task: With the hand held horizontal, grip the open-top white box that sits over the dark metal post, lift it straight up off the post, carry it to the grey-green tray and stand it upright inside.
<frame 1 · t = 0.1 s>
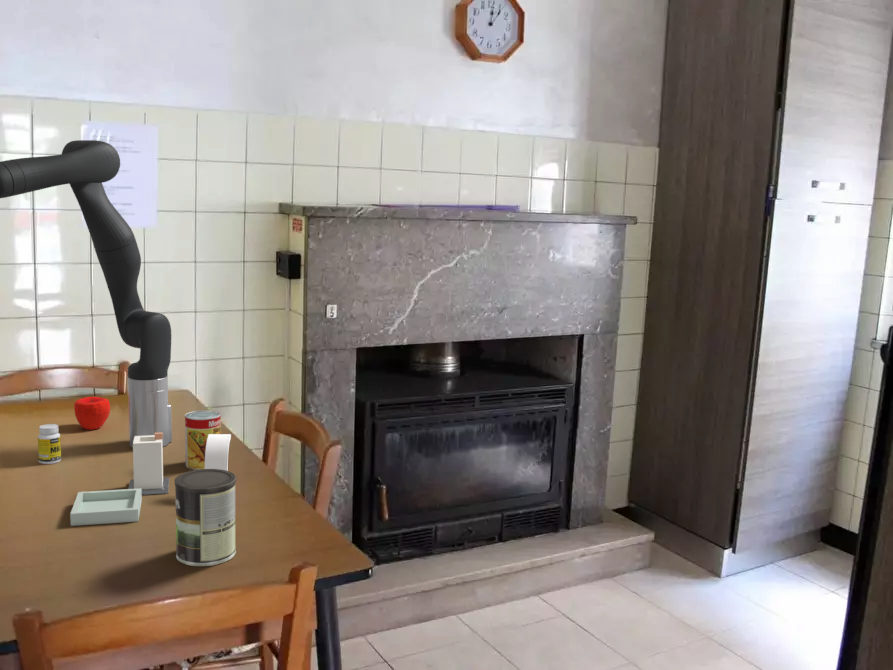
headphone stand: (218, 493, 183), on the table
supplement bottle: (50, 462, 199), on the table
post: (148, 488, 184), on the table
tray: (107, 512, 170), on the table
apple: (93, 428, 227), on the table
coffee can: (206, 555, 152), on the table
open-top white box: (148, 484, 184), point 1 cm above the table, touching post
canned food: (203, 465, 201), on the table
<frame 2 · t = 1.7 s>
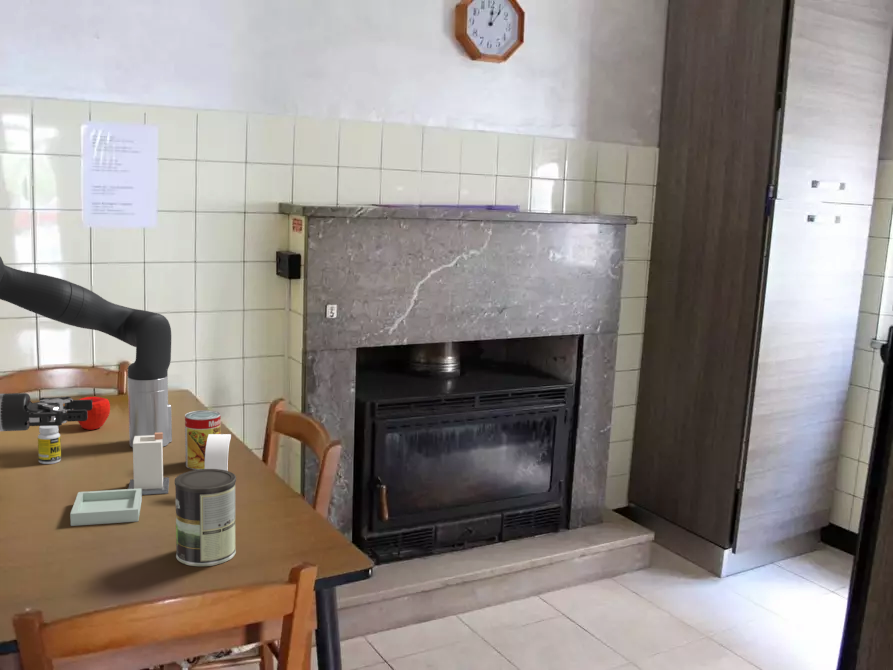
hand: (89, 409, 178), 18 cm above the table, tool horizontal, fingers open, 8 cm apart
nothing on the table moved.
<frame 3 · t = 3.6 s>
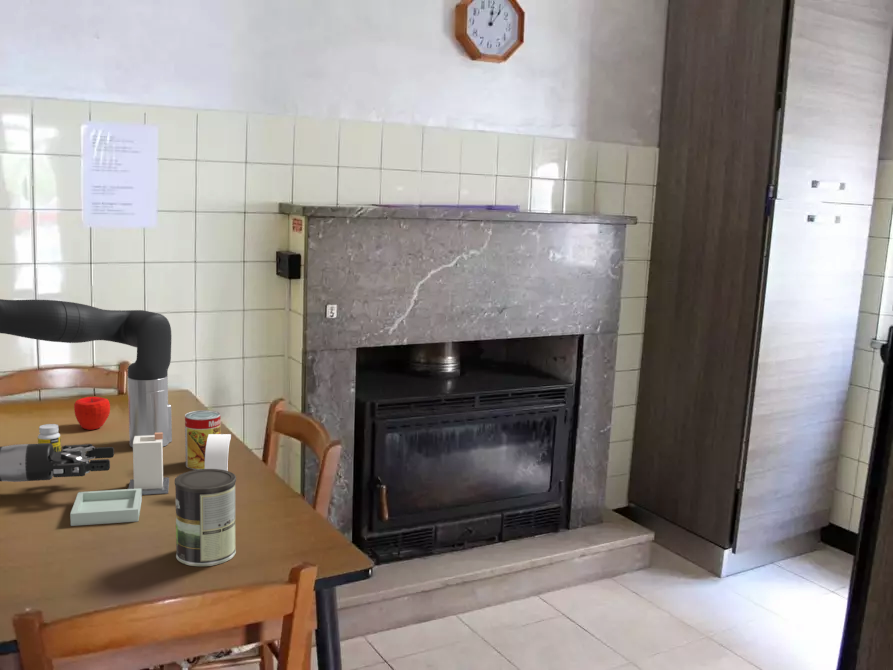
hand: (111, 458, 181), 7 cm above the table, tool horizontal, fingers open, 8 cm apart
nothing on the table moved.
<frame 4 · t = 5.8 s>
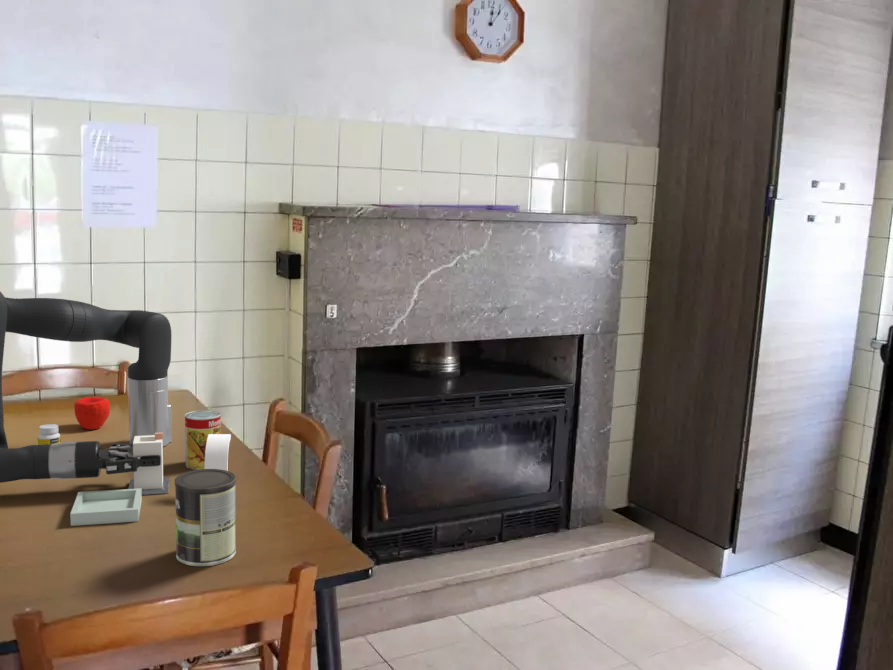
hand: (160, 455, 184), 7 cm above the table, tool horizontal, fingers closed on open-top white box, 5 cm apart
open-top white box: (148, 484, 184), point 1 cm above the table, touching gripper, post
everything else where it was.
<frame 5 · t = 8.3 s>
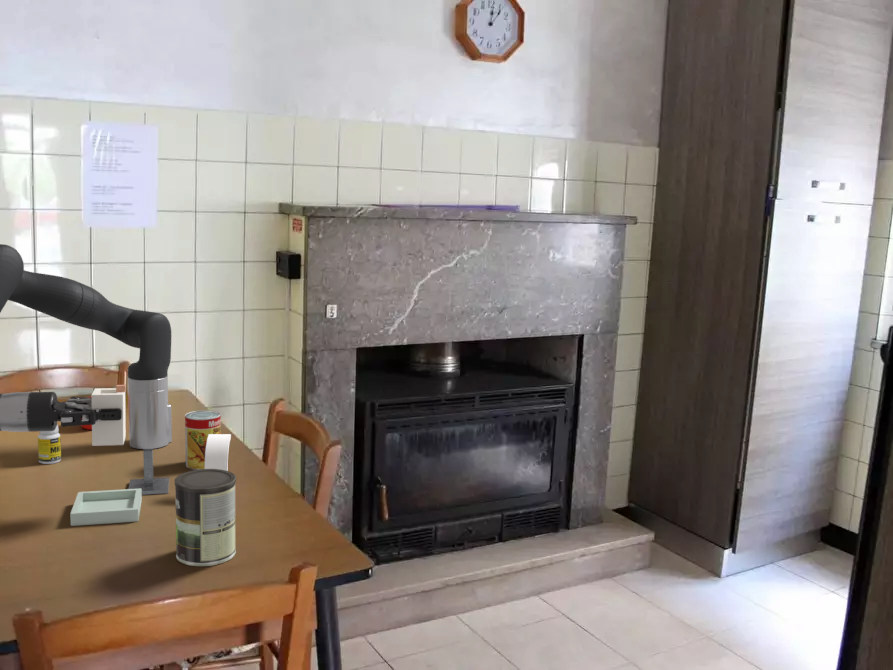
hand: (122, 410, 169), 20 cm above the table, tool horizontal, fingers closed on open-top white box, 5 cm apart
open-top white box: (109, 441, 169), point 14 cm above the table, touching gripper
everything else where it was.
when the fingers open (8 cm above the table, at t = 11.2 s): open-top white box drops 1 cm, resting on tray.
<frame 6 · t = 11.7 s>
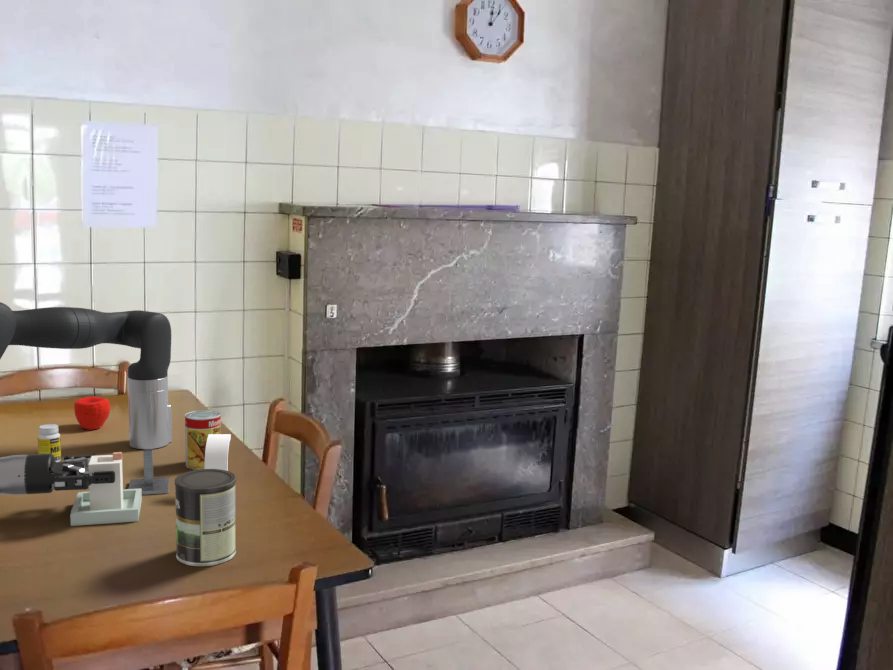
hand: (116, 469, 169), 9 cm above the table, tool horizontal, fingers open, 8 cm apart
open-top white box: (107, 508, 170), point 1 cm above the table, touching tray
everything else where it was.
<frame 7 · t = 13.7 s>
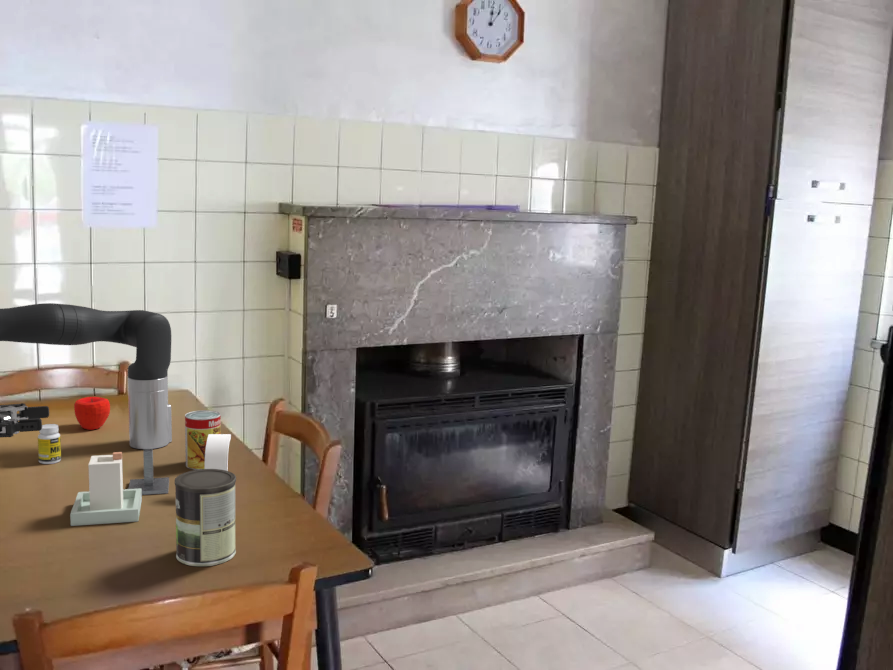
hand: (45, 417, 164), 20 cm above the table, tool horizontal, fingers open, 8 cm apart
nothing on the table moved.
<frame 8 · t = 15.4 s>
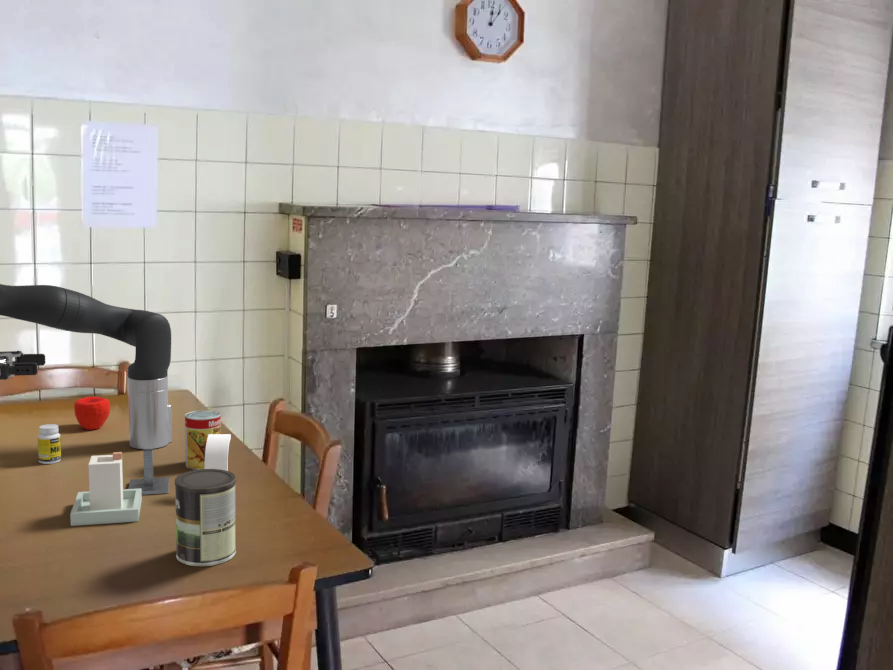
hand: (41, 364, 162), 30 cm above the table, tool horizontal, fingers open, 8 cm apart
nothing on the table moved.
at the end: open-top white box inside the target area on the tray (0.1 cm from its centre), point 0.8 cm above the tray's base; open-top white box tilted 0°; the gripper is holding nothing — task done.
